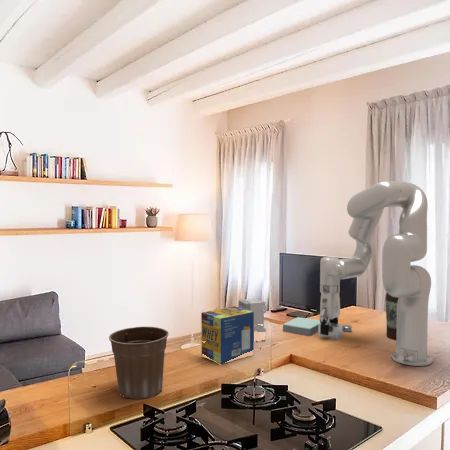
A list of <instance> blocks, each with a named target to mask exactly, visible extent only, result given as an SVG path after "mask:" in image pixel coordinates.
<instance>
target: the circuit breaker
mask: <svg viewBox="0 0 450 450" xmlns="http://www.w3.org/2000/svg"><path fill="white" fill-rule="evenodd" d="M238 308H242V309H245V310H249V311H252V312H254V324H255V325H257V326H255V327H254V330H256V331H257V332H266V333H267V329H266V328H265V314H266V313H267V306H266V301H264V300H262V299H259V298H246V299H238ZM258 324H263V326H261V325H258Z"/></svg>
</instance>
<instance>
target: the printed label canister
mask: <svg viewBox="0 0 450 450" xmlns="http://www.w3.org/2000/svg"><path fill="white" fill-rule="evenodd" d="M397 303H398V298H397V297H393V296H391V295H389V294H388V293H387V292H386V295H385V315H386V317H385V319H386V321H385V322H386V337H387V338H389V339H391V338H392V339H391V340H395V339H396V340H395V341H397Z"/></svg>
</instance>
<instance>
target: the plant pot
mask: <svg viewBox="0 0 450 450" xmlns="http://www.w3.org/2000/svg"><path fill="white" fill-rule="evenodd" d="M168 337H169V331H168V330H166V329H164V328H162V327H156V326H135V327H128V328H122V329H119V330H116V331H114V332H112V333H111V334H109V337H108V339H109V341H110V343H111V344H110V345H111V351H112V353H113V358H114V365H115V375H116V383H117V390H118V391H119V392H118V394H119V393H120V394H121V395H122V396H124V397H126V398H125V399H128V398H131V399H132V400H146V399H150V398H153V397H155V396H157V395H158V394H159V393H160V392H162V390H163V381H164V379H163V377H164V368H165V367H164V365H165V354H166V353H165V351H166V349H167V341H168V340H167V339H168ZM120 394H119V395H120ZM122 396H121V397H122ZM124 397H123V398H124Z"/></svg>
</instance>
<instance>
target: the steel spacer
mask: <svg viewBox="0 0 450 450" xmlns="http://www.w3.org/2000/svg"><path fill="white" fill-rule="evenodd" d="M351 332H353V327H352V325H349V324H344V325H343V324H342V333H351Z"/></svg>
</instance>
